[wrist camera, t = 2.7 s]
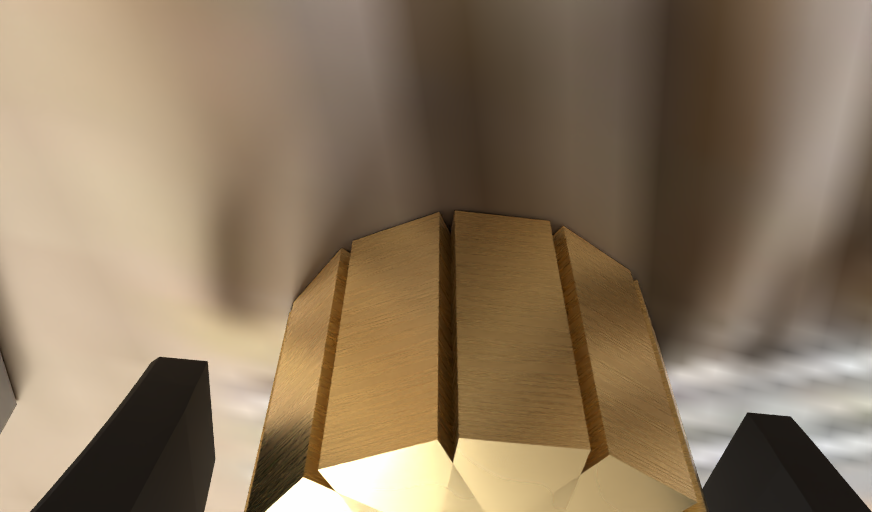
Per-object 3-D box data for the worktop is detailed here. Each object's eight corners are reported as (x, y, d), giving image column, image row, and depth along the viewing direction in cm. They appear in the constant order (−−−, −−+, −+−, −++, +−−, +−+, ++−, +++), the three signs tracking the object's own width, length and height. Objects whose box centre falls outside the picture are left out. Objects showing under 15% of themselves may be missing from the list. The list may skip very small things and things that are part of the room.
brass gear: (597, 481, 14) (637, 702, 11) (287, 454, 13) (244, 677, 10) (705, 238, 10) (804, 469, 7) (291, 191, 10) (230, 417, 7)
